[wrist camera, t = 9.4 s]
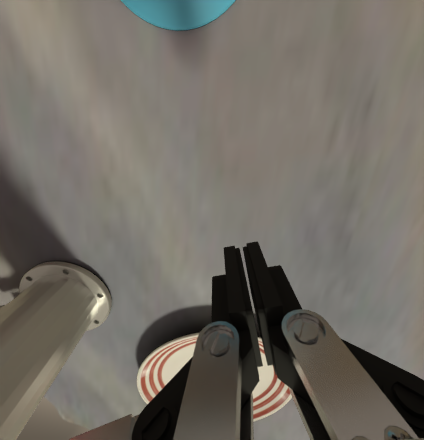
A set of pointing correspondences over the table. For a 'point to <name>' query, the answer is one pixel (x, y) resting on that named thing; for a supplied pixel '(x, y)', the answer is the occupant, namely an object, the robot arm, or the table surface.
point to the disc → (178, 12)
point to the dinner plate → (183, 351)
